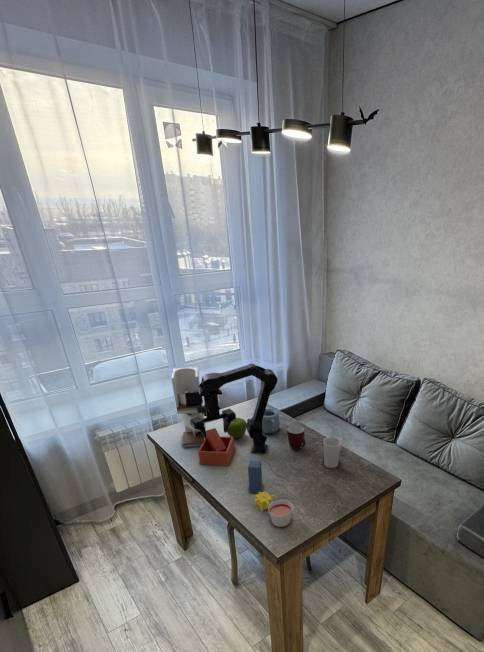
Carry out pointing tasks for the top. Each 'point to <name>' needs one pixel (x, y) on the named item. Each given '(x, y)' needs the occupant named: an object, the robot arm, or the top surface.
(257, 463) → the blue block
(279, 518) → the candle
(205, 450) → the red bin
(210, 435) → the red block
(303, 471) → the top surface
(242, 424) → the apple
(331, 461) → the cup
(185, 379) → the arched white lantern
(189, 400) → the robot arm
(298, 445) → the mug
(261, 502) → the toy block
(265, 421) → the mug
